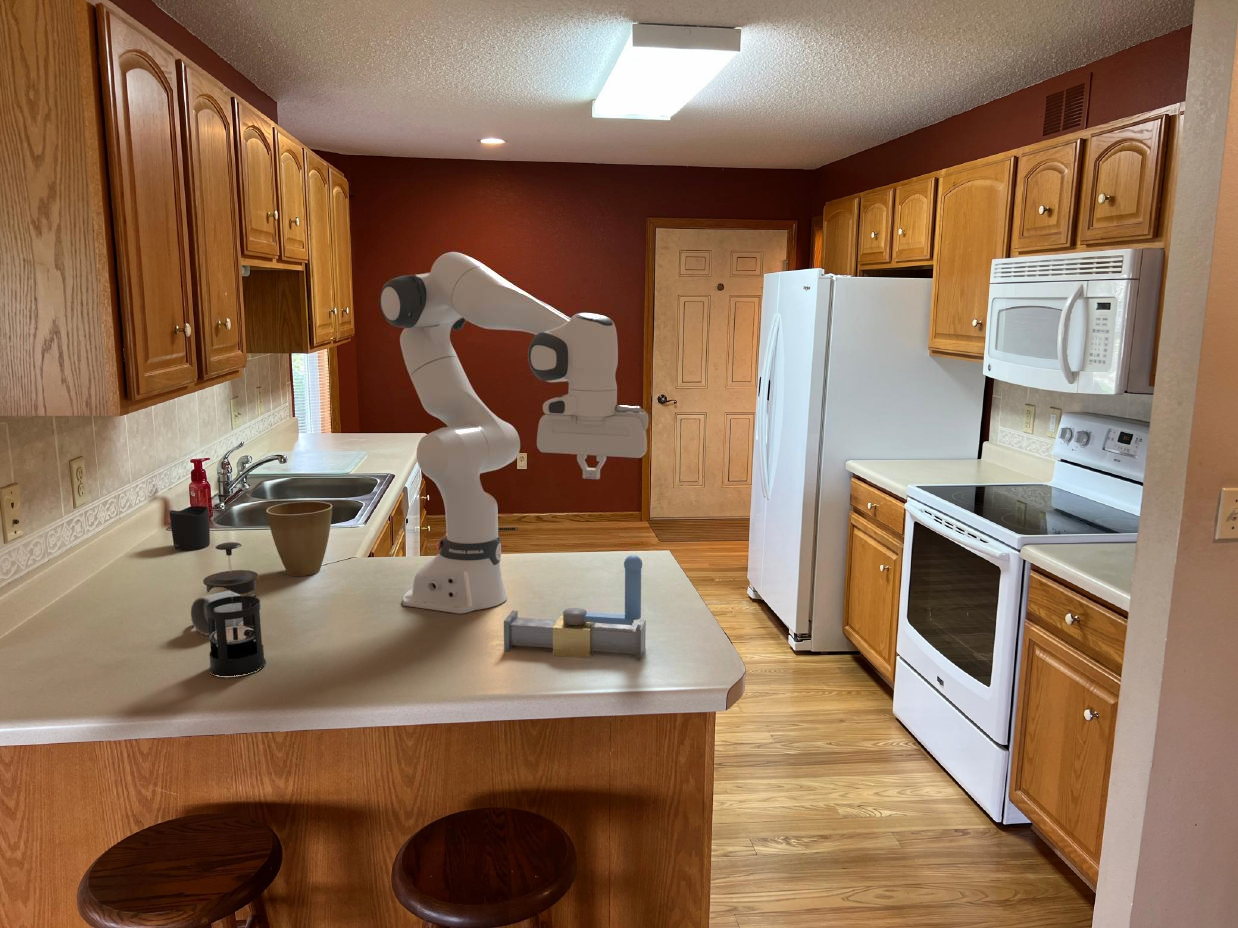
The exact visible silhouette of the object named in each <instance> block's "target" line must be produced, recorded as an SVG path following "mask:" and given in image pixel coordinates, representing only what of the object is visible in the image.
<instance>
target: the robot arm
mask: <svg viewBox="0 0 1238 928" xmlns="http://www.w3.org/2000/svg"><path fill="white" fill-rule="evenodd" d="M379 306H380V309H381V313H382V315H383V317H384V318H385V320H386V321H387V322H388V323H389V325H391V326H393V327H397V328H402V329H403V330H402V332H401V334H400V335H399V343H400V348H401V349H400V350H401V353H402V357H403V360H404V364H405V367H406V370H407V372H408V374H409V377H410V380H411V382H412V384H413V387H414V389H415V391H416V394H417V396H418V398H419V400H420V401H419V402H421V405H422V407H423V409H424V410H425V411H426V412H427V413H428V414H429V415H431V416H433V417H435V418H437V419H439V420H440V421H441V422H442V423H444V424H446V427H445V426H444V427H441V428H438V429H436V430H433V431H431V432H429V433H427V434H425V435H424V436H422V437H421V438H420V440H419V442H418V444H417V448H416V461H417V464H418V467H419V470H421V471H422V473H423V475H425V476H426V477H428V478H429V479H430V480H432V482H433V483H435V485H436V486H437V489H438V490H439V492H440V495H441V497H442V500H443V505H444V511H445V526H446V533H445V534H443V535H442V538H440V539H439V540H438V542H437V543H436V544H435V545H436V550H438V552H439V553H438V554H436V555H435V556H434V557H432V558H431V559H430V560H429V561H428V562H427V563H425V564H424V565H423V566H422V567H420V568H419V569H418V570H417V572H416V574H415V575H414V578H413V584H412V587H411V588H410V589H409V590H407V591H406V592H405V593H404V594H403V597H402V604H403V606H405V607H406V606H407V607H411V608H412V607H413V608H420V609H427V610H434V611H440V612H447V613H453V614H466V613H470V612H473V611H476V610H477V611H478V610H483V609H489V608H493V607H496V606H499V605H501V604H503V603H504V602H505V601H506V600H507V599H508V595H507V592H506V589H505V586H504V582H503V577H502V572H501V571H502V569H501V564H500V563H501V561H502V560H501V557H502V544H501V536H500V535H499V519H498V518H499V515H498V514H499V513H498V503H497V500H496V499H495V498H494V496H492V495H491V494H490V493H488V492H486V491H484V489H483V486H482V483H481V479H480V475H481V474H484V473H487V472H492V471H496V470H499V469H502V468H504V467H505V466H507V465H509V464H510V463H512V462H515V460H516V459H517V457H518V456H519V454H520V449H521V439H520V435H519V433H518V431H517V430H516V428H515V427H514V426H513V425H512V424H510V423H509V422H506V421H504V420H503V419H501V418H500V417H498V416H497V415H496V414H495V413H494V412H492V411H491V410H490V409H489V407H488V406H486V404H485V403H484V402H483V401H482V399H480V397H479V396H478V394H477V393H476V392H475V390H474V388H473V386H472V384H471V383H470V380H469V378H468V377H467V375H466V372H465V371H464V368H463V366H462V363H461V362H460V359H459V357H458V354H457V353H456V350H455V349H454V347H453V345H452V342H451V338H450V337H451V336H450V335H451V331H452V330H453V331H460V330H462V329H463V327H464V326H465V324H466V322H469V323H471V324H473V325H475V326H477V327H480V328H483V329H485V330H486V329H487V330H501V331H502V330H503V331H504V330H505V331H517V332H518V331H519V332H525V333H529V334H533V335H535V336H534V337H533V338H532V340H531V341H530V343H529V345H528V350H527V361H528V364H529V365H528V366H529V368H530V370H531V372H532V373H533V375H534V376H535V378H538V380H539V381H541V382H542V381H543V382H548V383H559V382H568V393H567V394H562V395H559V396H557V397H553V398H550V399H548V400H546V401H544V403H543V404H542V412H543V413H544V414H543V415H542V416H541V418H540V419H539V422H538V427H537V434H536V436H537V437H536V447H537V449H538V450H539V451H540V452H541V453H546V454H547V453H550V454H567V455H568V454H570V455H576V461H577V463H578V464H579V466H580V468H581V470H582V479H586V480H587V479H588V480H589V479H591V480H600V479H601V469H602V467H603V466H604V464H605V462H606V461H607V457H616V458H617V457H619V458H634V459H635V458H636V459H640V458H642V457H643V456H644V455H646V453H647V451H648V438H647V437H648V436H647V431H646V430H647V429H648V427H649V426H650V425H649V423H650V422H649V421H650V419H649V413H648V412H647V411H646V410H645V409H643V408H642V407H641V406H639V405H635V406H630V405H620V404H618V384H617V380H616V372H617V368H618V363H619V362H618V360H619V350H618V349H619V347H618V346H619V345H618V333H617V328H616V325H615V322H614V321H613V320H612V319H611V318H610V317H608V316H605V315H601V314H598V313H591V312H578V313H575V314H574V315H573V316H571V317H569V316H567V315H565V313H562V312H560V311H559V310H557V309H556V308H554V307H552V306H551V305H549V304H547V303H546V302H544V301H542V300H540V299H538V298H536V297H535V296H532V295H531V294H529V293H527V292H526V291H524V290H522V289H521V288H519V287H517V286H516V285H514V284H513V283H511V282H509V281H508V280H507V279H505V278H503V277H502V275H501V276H500V275H499V274H498V273H496V272H495V271H494V270H492V269H491V268H489V267H488V266H486V265H485V264H483V263H482V262H480V261H479V260H476V259H475V258H473V257H470V256H468V255H466V254H465V253H464V254H463V253H461V252H457V251H450V252H446V253H444V254H441V255H440V256H438V258H436V260H435V261H434V262H433V264H432V266H431V269H430V272H426V273H420V274H409V275H408V274H407V275H400V276H398V277H394V278H392V279H389V280H388V281H386V282H385V283H384V285H383V286H382V288H381V290H380V293H379ZM588 456H596V461H597V462H598V464H597V465H596V467H589V466H588V464H587V462H586V461H585V460H586V459H587V457H588Z"/></svg>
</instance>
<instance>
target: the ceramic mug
mask: <svg viewBox="0 0 1238 928" xmlns="http://www.w3.org/2000/svg"><path fill="white" fill-rule="evenodd" d="M233 596H243V594H237V593H234V592H233ZM225 597H231V591H230V590H224V591H220V592H216V593H213V594H209V595H204V596H203V595H202V596H199V597H198V598H196V599H195V600H194V601H193V602H192V604H191V608H190V617H191V619H190V620H191V623H192V626H194V628H195V629H196V630H197V631H198V632H199V633H200V634H201V635H203V634H204V636H210V634H209V622H208V617H207V616H206V609H205V607H206V605H207V604H208V603H210V602H212V601H215V600H217V599H221V598H225ZM234 609H235V611H241V610H242V603H234ZM214 612H233V611H232V604H226V605H222V606H219V607H216V608H214ZM235 622H236V626H238V625H239V624H241V623H243V618H238V619H235ZM225 623H226V628H227V627H231V626H234V624H233V619H231V620H225ZM215 628H216V622H215Z"/></svg>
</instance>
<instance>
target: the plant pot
mask: <svg viewBox="0 0 1238 928" xmlns="http://www.w3.org/2000/svg"><path fill="white" fill-rule="evenodd" d="M265 511H266V516H267V520H268V525H269V528H270V529H269V530H270V533H271V536H272V539H273V543H274V546H275V548H276V551H277V553H278V556H279V558H280V560H281V562H282V564H283V567H284V569H285V571H286V574H288V575H289V576H293V577H306V576H312V575H315V574H317V573H319V572H320V571H321V568H322V565H323V561H324V559H325V555H326V551H327V546H328V543H329V538H330V531H331V525H332V524H331V523H332V516H333V505H332V504H331V502H325V501H316V500H315V501H314V500H311V501H310V500H309V501H304V500H303V501H292V502H285V503H280V504H275V505H272V506H270V507H268V508H267V509H266V510H265Z"/></svg>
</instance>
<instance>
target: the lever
mask: <svg viewBox="0 0 1238 928" xmlns="http://www.w3.org/2000/svg"><path fill="white" fill-rule="evenodd" d="M623 567H624V614H618V613H604V612H590V611H589V612H587V610H586V608H585V609H584V608H581V607H570V608H566V609H564V610H563V611H562V613H563V615H562V616H563V622H564V623H565V624H568V625H581V624H584V623H586V622H591V623H605V624H620V625H634V621H637V620H640V618H641V617H642V569H643V560H642V559H641V558H640V556H638V555H636V554H633V555H632V554H630V555H628V556H626V558H625V559H624V562H623ZM641 619H642V618H641Z"/></svg>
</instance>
